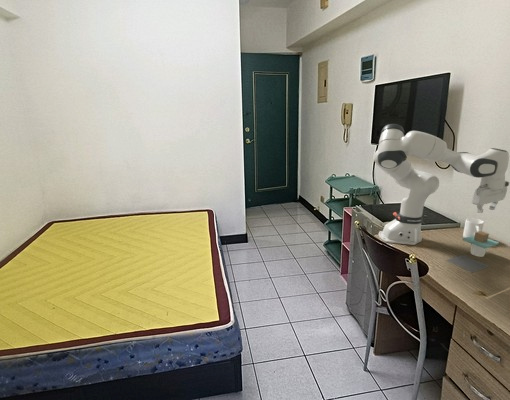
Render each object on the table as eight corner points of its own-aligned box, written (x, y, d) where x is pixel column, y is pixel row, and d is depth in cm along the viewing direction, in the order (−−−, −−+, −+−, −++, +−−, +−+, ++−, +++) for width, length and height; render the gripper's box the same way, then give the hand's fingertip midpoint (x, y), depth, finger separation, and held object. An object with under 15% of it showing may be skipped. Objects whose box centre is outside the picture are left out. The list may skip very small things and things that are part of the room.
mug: (485, 244, 173) (489, 226, 170) (468, 243, 175) (471, 225, 172) (476, 235, 184) (480, 218, 181) (460, 234, 186) (463, 217, 183)
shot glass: (485, 259, 158) (488, 246, 156) (469, 255, 161) (471, 243, 159) (485, 253, 163) (487, 240, 161) (469, 250, 167) (471, 238, 165)
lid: (484, 248, 153) (486, 239, 152) (462, 240, 163) (463, 231, 161) (498, 244, 158) (500, 235, 156) (475, 235, 167) (477, 227, 166)
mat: (472, 273, 145) (472, 272, 145) (445, 261, 156) (445, 260, 156) (489, 266, 151) (490, 266, 150) (462, 255, 162) (462, 254, 162)
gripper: (485, 187, 144) (479, 216, 149) (511, 182, 153) (505, 209, 157) (471, 184, 150) (465, 212, 154) (497, 179, 158) (491, 206, 162)
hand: (485, 211), depth 156 cm, fingers open, 8 cm apart
